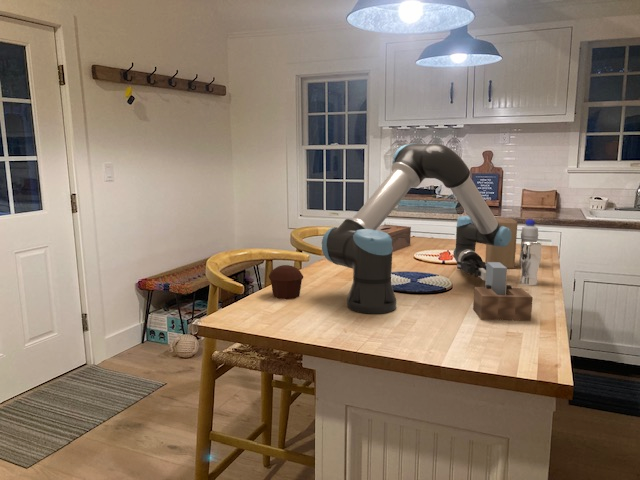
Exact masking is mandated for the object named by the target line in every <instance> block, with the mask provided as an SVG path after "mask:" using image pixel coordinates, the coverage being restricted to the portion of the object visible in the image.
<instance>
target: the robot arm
mask: <svg viewBox="0 0 640 480" xmlns="http://www.w3.org/2000/svg"><path fill="white" fill-rule="evenodd" d="M391 163H392V165H391V173H390V174H389V175H388V176H387V177H386V179H384V180H383V182H382V183H381V185H380V186H379V187H378V188H377V189H376V190H375V191H374V193H373V194H371V196H370V197H369V198H368V199H367V200H366V202H365V203H364V204H363V205H362V207H361V208H360V209H359V210H358V211H357V212H356V214H355V215H354V216H353V217H351V218H346V219H344V221H342V223H341V224H340V225H339V226H338V227H331V228H329V229H328V230H327V231H325V233H324V234H323V237H322V239H321V251H322V252H321V253H322V254H323V256H324V258H325V259H326V260H327V261H328V262H331V263H333V264H335V265H337V266H343V267H345V268H350V269H352V271H353V275H352V276H353V278H352V279H353V280H352V284H351V287H350V290H349V293H348V295H347V299H346V301H347V302H346V307H347V308H348V309H350V310H351V311H354V312H357V313H361V314H369V315H370V314H373V315H374V314H376V315H377V314H386V313H390V312H393V311H395V310H396V309H397V298H396V295H395V292H394V287H393V286H392V269H393V265H392V264H393V252H392V251H393V247H392V238H391V237H390V235H389V234H387V233H385V232H382V231H379V230H377V228H378V227H379V226H381V225H383V223H384V221H385V220H386V219H387V218H388V216H389V215H390V214H391V213H392V211H393V210H394V209H395V208H396V207H397V206H398V204H399V203H400V202H401V201H402V199H403V198H404V197H405V196H406V195H407V193H408V192H409V191H410V190H411V189H414V188H415V189H416V188H418V187H419V186H420V185H421V184H422V182H423V181H424V180H425V179H435V180H438V181H440V182H441V183H442V184H443V186H444V187H445V188H447V189H450V190H451V191H452V193H453V195H454V196H455V197H456V199H457V201H458V202H459V204H460V206H461V207H462V208H463V211H465V213H466V214H467V215H462V216H458V217H457V222H456V227H455V228H456V232H455V233H456V235H455V248H454V250H453V254H452V255H453V258H454V260H455V261H456V269H457V270H460V271H462V272H464V273H466V274H468V275H473V274H474V278H480V279H481V280H482V281H486V267H487V264H486V262H485V261H484V260H483V259H482V257H481V256H480V255H479V253H477V252H476V246H477V245H476V244H477V243H478V244H482V245H483V244H484V245H486V244H487V245H492V246H499V247H505V246H507V245H508V244H509V242H510V240H511V231H510V229H509V228H507V227H504V226H500V225H499V223H498V222H497V220H496V218H497V217H496V216H495V215H494V213H493V212H492V210H491V208H490V207H489V205H488V204H487V203H486V201H485V199H484V197H483V196H482V194H481V192H480V191H479V189H478V188H477V186H476V184H475V183H474V180H472V178H471V171H470V168H469V167H468V165H467V164H466V163H465V161H464V160H463V159H462V158H461V157H460V155H458V154H457V153H456V151H454V150H453V149H452V148H450V147H448V146H446V145H444V144H442V143H441V144H440V143H409V144H405V145H402V146H400V147H399V148H397V150H396V151H395V153H394V155H393V160H392V162H391Z"/></svg>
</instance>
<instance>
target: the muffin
mask: <svg viewBox="0 0 640 480" xmlns="http://www.w3.org/2000/svg"><path fill="white" fill-rule="evenodd" d="M268 279H269V281H270V284H271V290H272V296H273V298H274V299H275V298H276V299H278V300H294V299H297V298H299V297H300V295H301V288H302V282H303V280H304V275H303V274H302V272H301V270H300V269H299V268H297V267H296V266H293V265H289V264H284V265H283V264H282V265H279V266H277V267H275V268H273V269H272V270H271V271H270V273H269V274H268Z"/></svg>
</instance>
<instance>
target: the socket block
mask: <svg viewBox="0 0 640 480" xmlns="http://www.w3.org/2000/svg"><path fill="white" fill-rule="evenodd" d="M472 309H473V311H474V312H475V314H476V315H477V317H478V318H479V319H480V320H481V321H512V320H514V321H513V322H515V321H519V322H520V321H523V322H531V320H532V310H533V296H532V295H530V294H529V293H528V292H527V291H526V290H525V289H524V288H522V287H512V285H511V284H506V291H505V295H497V294H496V293H495V292H494V291H493V290H492V289H491V285H486V287H485V286H482V287H481V286H474V291H473V307H472Z"/></svg>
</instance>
